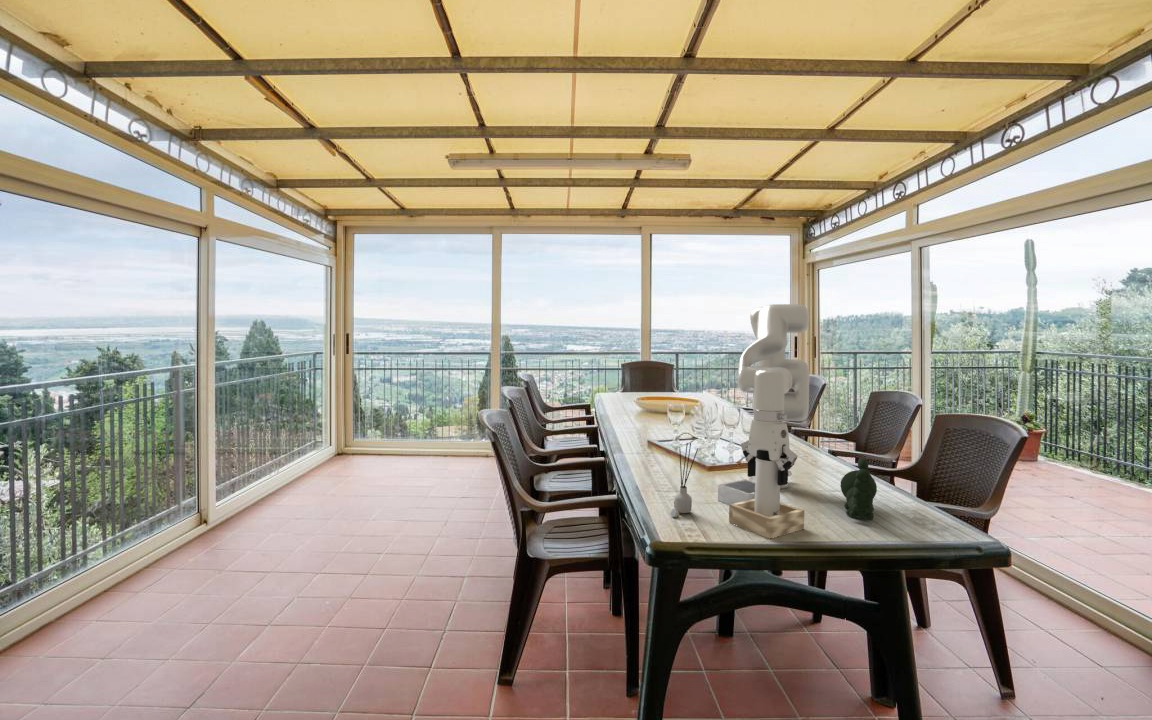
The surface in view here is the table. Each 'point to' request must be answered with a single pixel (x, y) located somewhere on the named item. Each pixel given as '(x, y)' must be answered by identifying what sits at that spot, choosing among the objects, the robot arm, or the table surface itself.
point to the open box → (736, 491)
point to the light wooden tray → (766, 519)
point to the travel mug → (766, 485)
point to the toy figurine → (859, 491)
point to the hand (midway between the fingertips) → (767, 480)
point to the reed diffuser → (683, 492)
